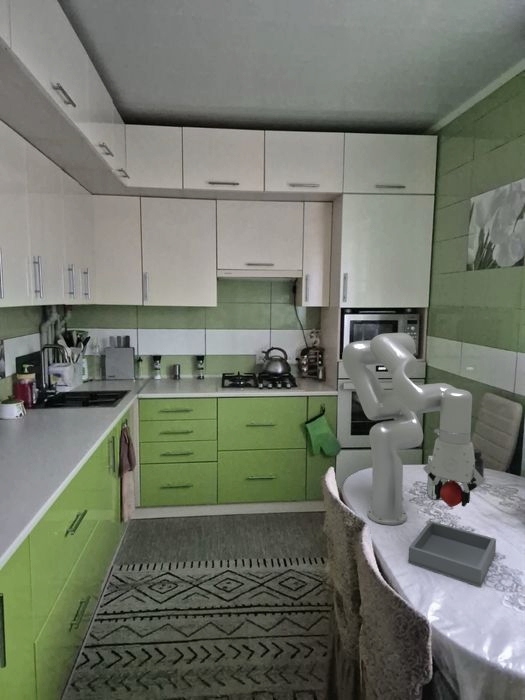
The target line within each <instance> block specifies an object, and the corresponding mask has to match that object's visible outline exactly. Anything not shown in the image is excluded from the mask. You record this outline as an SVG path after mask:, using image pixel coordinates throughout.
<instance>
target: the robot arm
mask: <svg viewBox="0 0 525 700" xmlns="http://www.w3.org/2000/svg"><path fill="white" fill-rule="evenodd" d="M416 348H417V346H416V341H415V339H414V337H412V336H411V334H408V333H406V332H392V333H380V334H378V335H376V336H374V337H373V338H372V339H370V340H357V341H354V342H352V341H351V342H350V343H348V344H347V345H346V346H344V348H343V351H342V356H341V358H342V366H343V369H344V372H345V374H346V375H347V377H348V379H349V380H350V381H351V383H352V385H353V387H354V389H355V392H356V395H357V397H358V401H359V403H360V405H361V408H362V410H363V413H364V414H365V416H366V417H367V419H368V420H371V421H381V422H378V423H376V424H374V425H373V426H371V428H370V430H369V436H368V437H369V443H370V444H369V445H370V448H371V456H372V457H371V459H372V461H371V463H372V468H371V469H372V470H371V471H372V472H371V473H372V475H371V477H372V483H371V484H372V485H371V487H372V490H371V491H372V492H371V493H372V495H371V497H372V499H371V506H370V507H368V509H367V511H366V512H367V517H368V518H370V520H371V521H373V522H376V523H378V524H381V525H387V526H393V525H394V526H395V525H401V524H403V523H405V522H406V521H407V519H408V514H407V512H406V511H405V509H403V502H404V499H405V498H404V496H403V481H404V479H403V476H404V475H403V474H404V473H403V472H404V471H403V470H404V467H403V462H402V459H401V458H400V457H399V455H398V451H402V450H407V449H413V448H417V447H419V446H420V445H421V444H422V443H423V441H424V433H423V427H422V425H421V423H420V421H419V418H418V416H417V414H426V413H432V412H440V414H439V417H440V418H439V428H434V429H433V433H434V434H437V436H438V437H436V439H435V442H434V445H433V450H432V455H431V456H432V461H431V462H430V463H428V462H427V464H426V465H424V466H423V470H424V472H425V473H426V474H427V476H428V475H429V477H430V478H431V479H432V481H433V483H434V484H435V495H436V499H440V498H441V497H440V488H441V486H442V485H443V483H442V482H441V479H442V478H444V479H448V481H449V480H452V481H455V482H456V483H461V484H462V489H463V492H462V502H461V506H462V507H463V508H464V507H466V505H467V504H469V503H470V501H471V500H470V499H471V492H472V491H473V490H475V489H476V488H477V487H480V486H481V485H483V484H484V483H485V479H483V477H482V476H481V475H480V474H479V473H478V471H477V470H476V469H475V458H474V449H475V448H474V445H473V444H474V443H473V442H472V441H471V433H472V432H471V429H472V427H471V426H472V410H473V395H472V393H471V392H470V391H468V390H466V389H461V388H456V387H454V386H453V385H451V384H448V383H445V382H438V383H437V382H436V383H428V384H427V383H425V384H419V385H416V384H415V383H414V382H413V381H412V380H411V379H410V378H411V377H412V376H413V374H414V373H415V372H416V370H417V368H418V363H419V362H418V359H417V358H416V356H414V353H415V352H416ZM374 365H383V367H384V368H385V369H386V370H387V371H388V372H389V373H390V375H392V377H391V384H392V389H387V390H386V389H384V388H383V386H382V385H381V383H380V380H379V378H378V376H377V375H376V373H374V372H373V371H372V370H371V369H369V368H368V367H367V366H374ZM390 419H393V420H390ZM382 420H386V421H382ZM473 477H474V478H475V479H476V481H475V482H473V483H471V482H470V481H471V480H472V478H473Z"/></svg>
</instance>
